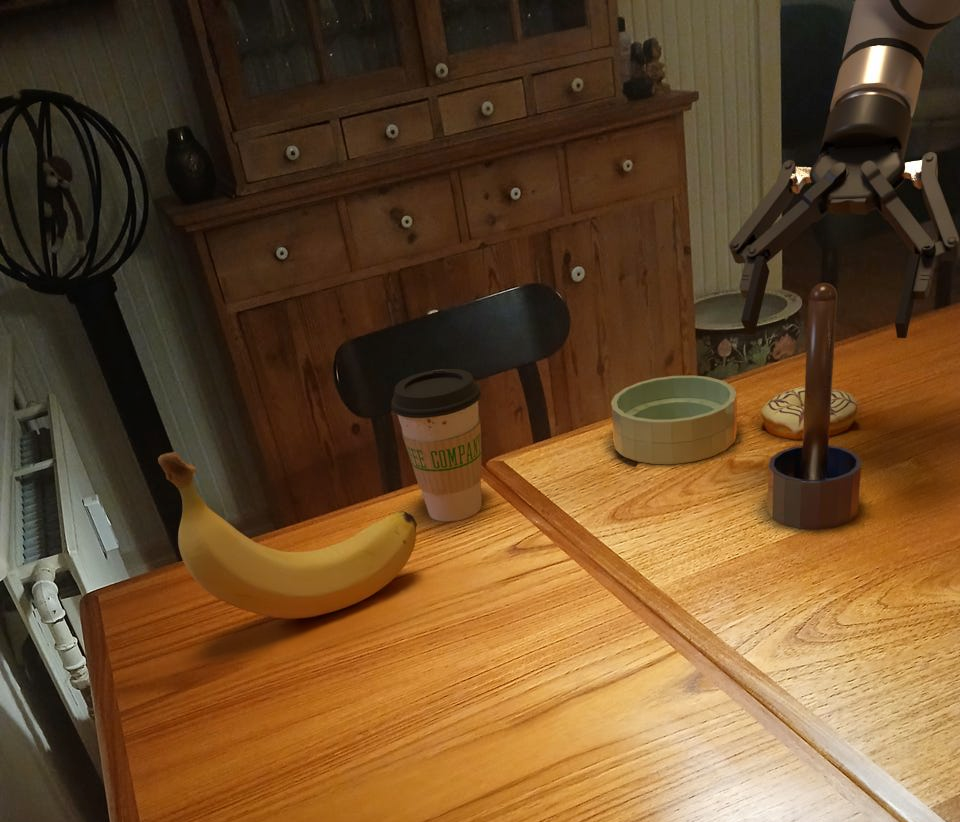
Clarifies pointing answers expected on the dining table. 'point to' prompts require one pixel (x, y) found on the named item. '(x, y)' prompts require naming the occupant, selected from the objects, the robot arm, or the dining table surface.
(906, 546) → the dining table surface
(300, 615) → the banana
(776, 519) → the crock
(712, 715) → the dining table surface
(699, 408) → the bowl
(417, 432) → the coffee cup
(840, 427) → the decorated donut
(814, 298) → the wooden pestle
